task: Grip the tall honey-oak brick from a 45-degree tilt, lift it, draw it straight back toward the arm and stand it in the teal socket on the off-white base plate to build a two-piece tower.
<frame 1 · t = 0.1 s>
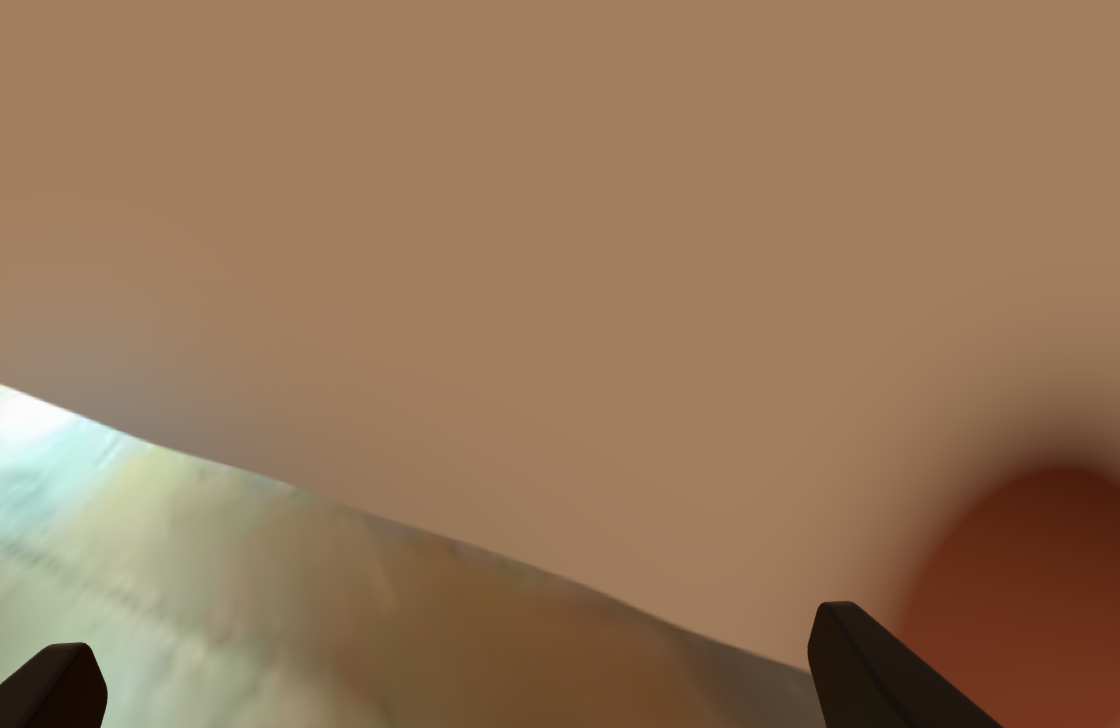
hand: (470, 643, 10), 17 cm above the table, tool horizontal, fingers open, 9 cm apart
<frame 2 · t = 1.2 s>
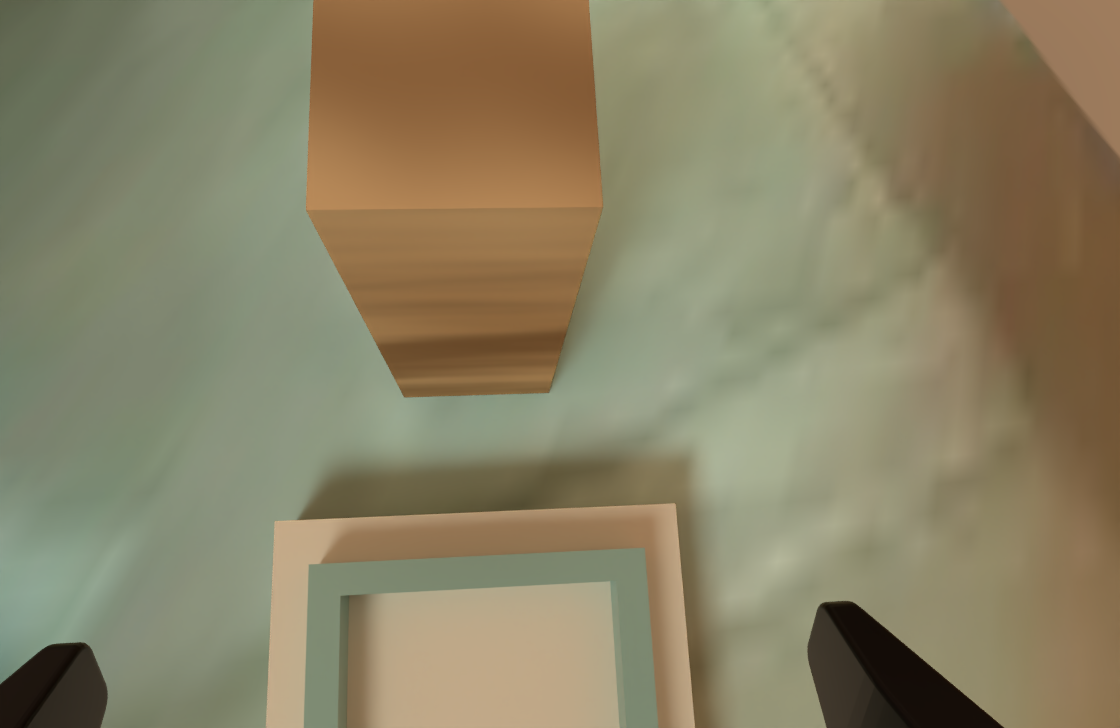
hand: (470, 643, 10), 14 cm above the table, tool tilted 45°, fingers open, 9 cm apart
oak brick: (475, 326, 25), on the table
base plate: (485, 714, 22), on the table
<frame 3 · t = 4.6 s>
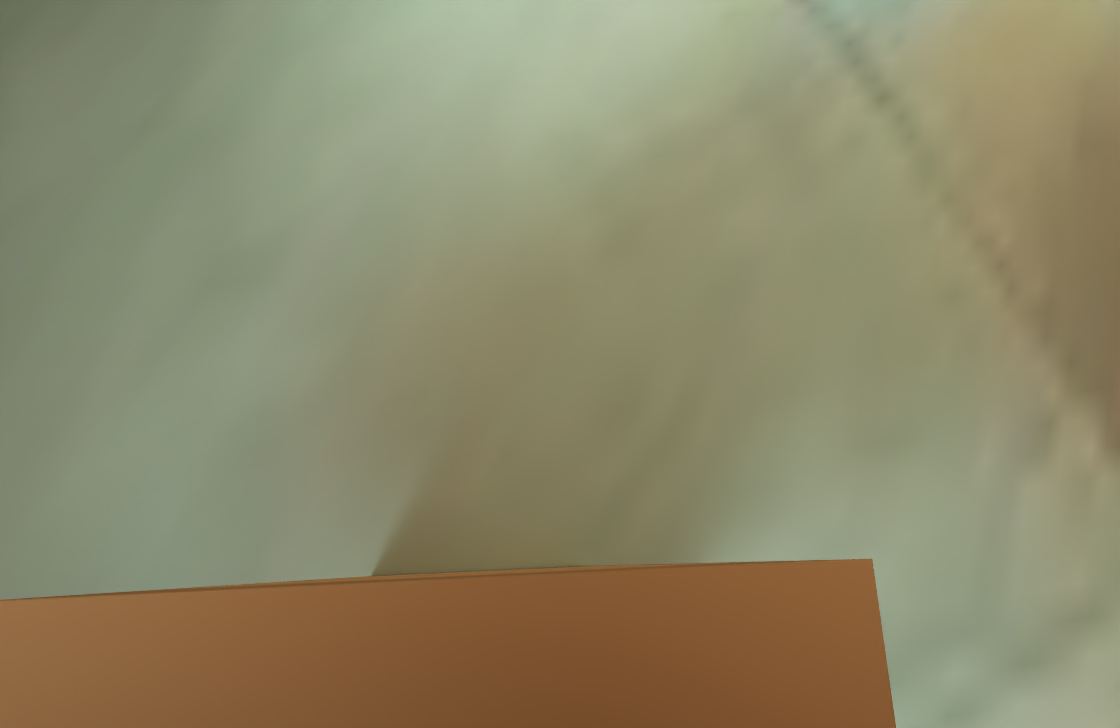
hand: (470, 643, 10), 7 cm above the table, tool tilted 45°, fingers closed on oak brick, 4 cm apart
oak brick: (481, 686, 16), on the table, touching gripper
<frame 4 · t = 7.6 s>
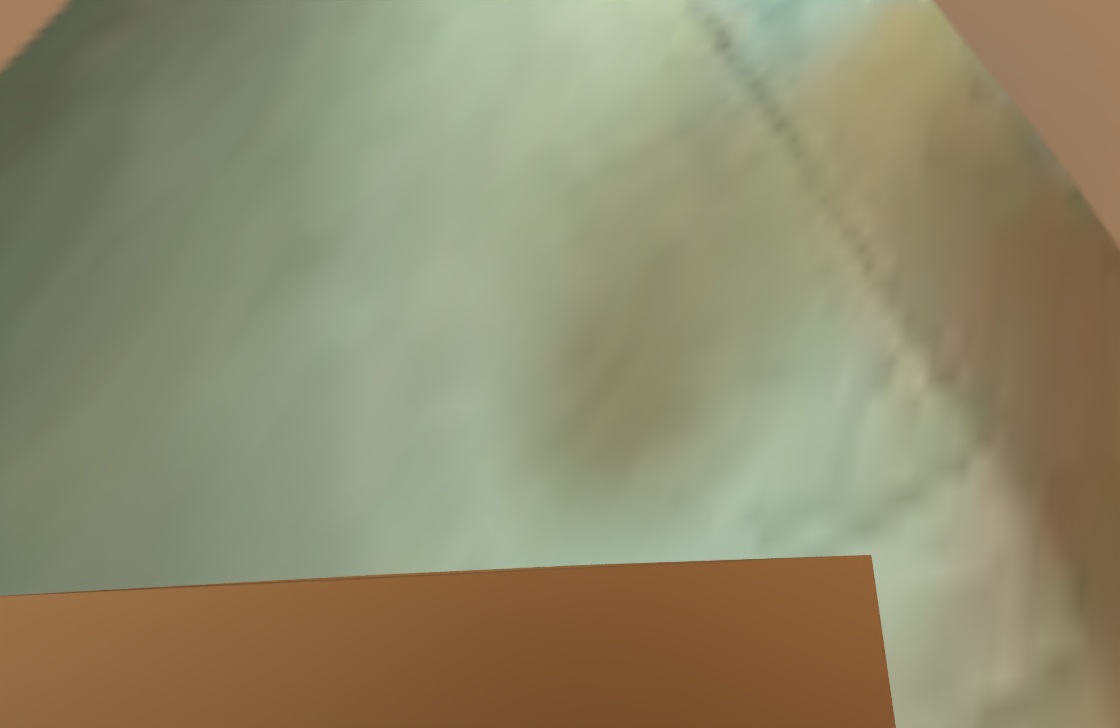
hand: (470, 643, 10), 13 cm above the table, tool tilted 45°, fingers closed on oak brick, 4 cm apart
oak brick: (481, 685, 16), point 7 cm above the table, touching gripper
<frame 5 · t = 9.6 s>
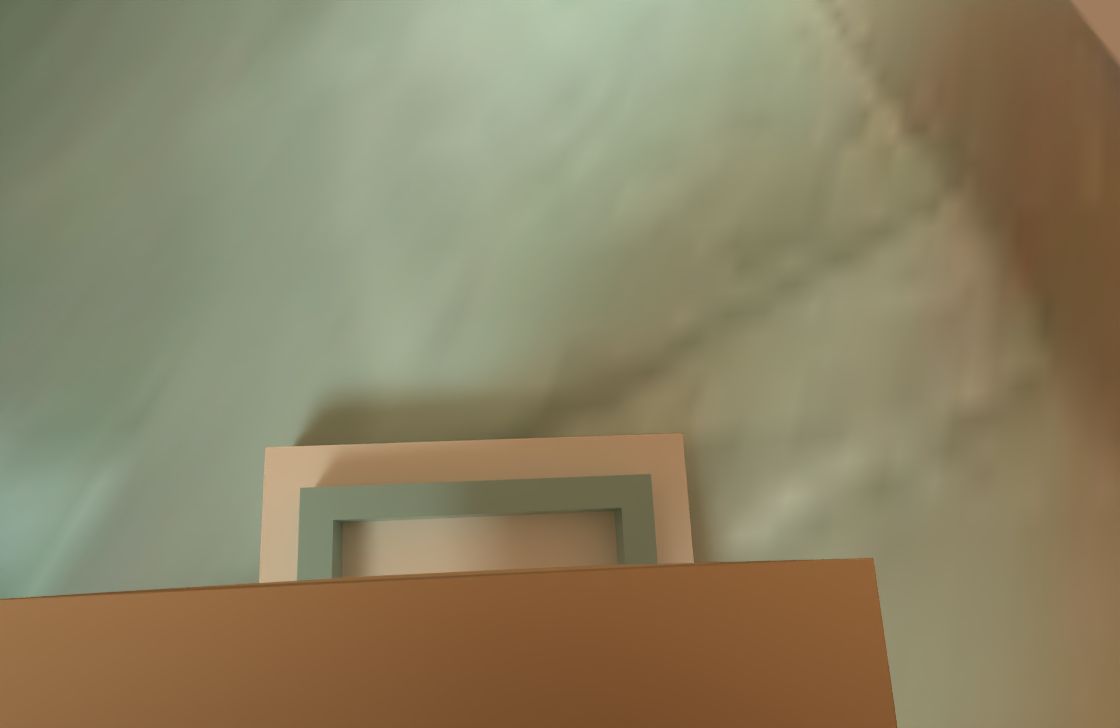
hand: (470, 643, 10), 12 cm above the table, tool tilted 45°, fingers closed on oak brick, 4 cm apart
oak brick: (481, 686, 16), point 6 cm above the table, touching gripper
base plate: (484, 651, 21), on the table
when the fingers open (9 cm above the table, at t = 11.1 s): oak brick stays where it is, resting on base plate.
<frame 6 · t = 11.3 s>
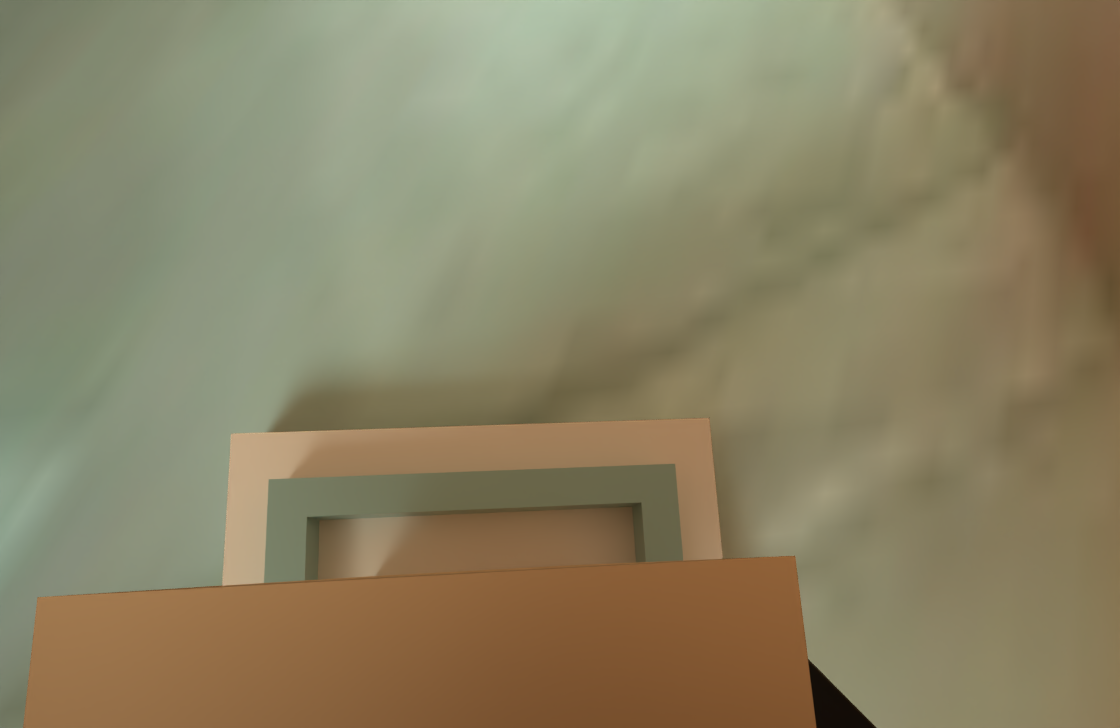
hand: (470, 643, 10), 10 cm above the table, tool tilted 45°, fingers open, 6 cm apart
oak brick: (481, 679, 17), point 2 cm above the table, touching base plate
base plate: (483, 667, 19), on the table
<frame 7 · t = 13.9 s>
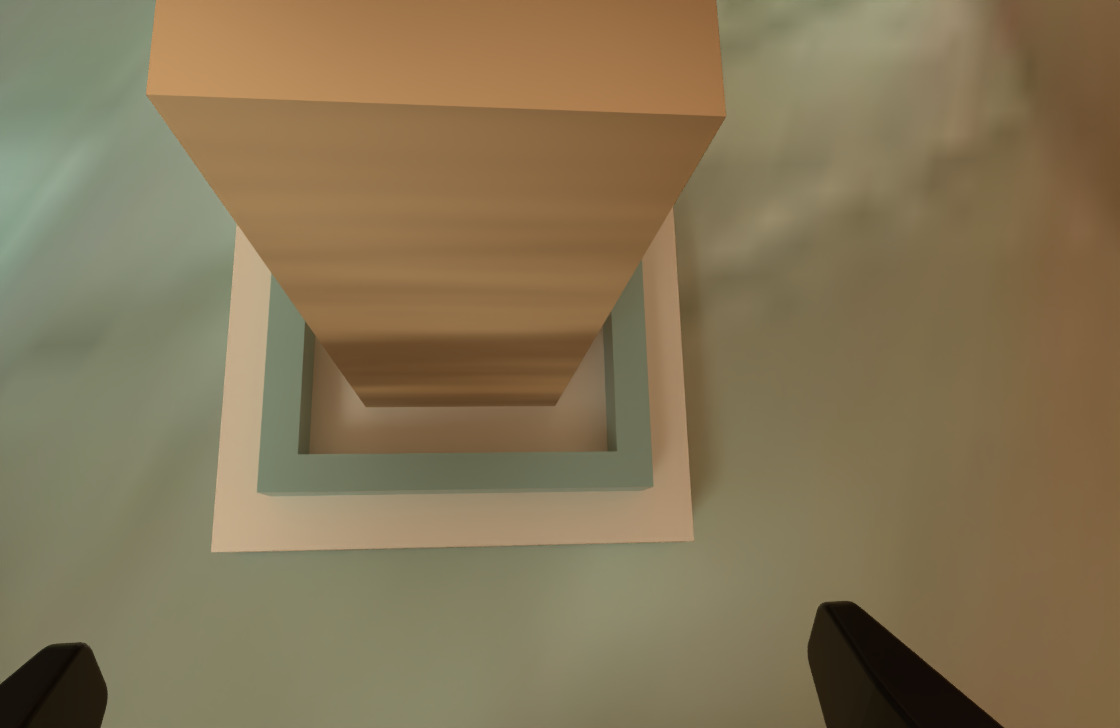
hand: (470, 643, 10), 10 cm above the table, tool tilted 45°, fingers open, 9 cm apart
oak brick: (461, 316, 19), point 2 cm above the table, touching base plate
base plate: (463, 338, 21), on the table
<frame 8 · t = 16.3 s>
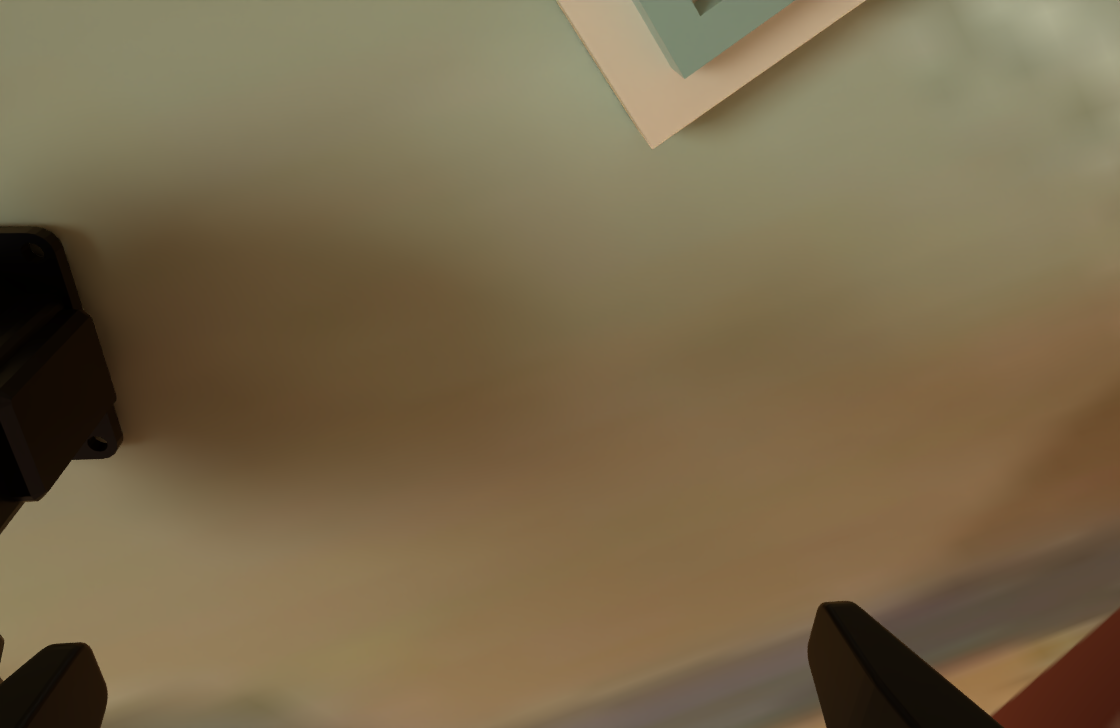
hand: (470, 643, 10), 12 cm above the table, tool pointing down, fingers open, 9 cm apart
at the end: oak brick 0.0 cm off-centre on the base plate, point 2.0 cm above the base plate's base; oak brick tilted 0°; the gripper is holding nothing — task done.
